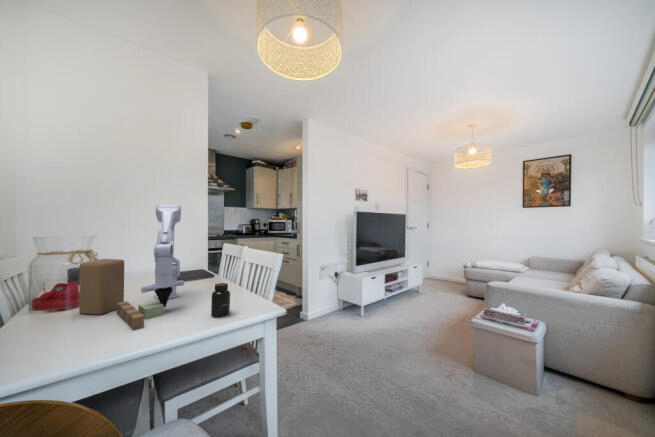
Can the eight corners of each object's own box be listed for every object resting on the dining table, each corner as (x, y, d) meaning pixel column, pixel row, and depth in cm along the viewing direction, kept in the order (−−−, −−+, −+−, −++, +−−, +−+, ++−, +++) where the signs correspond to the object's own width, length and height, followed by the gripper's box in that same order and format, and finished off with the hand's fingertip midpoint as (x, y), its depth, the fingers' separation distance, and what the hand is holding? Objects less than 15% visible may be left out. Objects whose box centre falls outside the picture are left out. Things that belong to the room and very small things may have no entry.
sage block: (138, 314, 97) (138, 304, 97) (156, 309, 102) (156, 300, 102) (145, 319, 92) (145, 309, 92) (163, 315, 97) (163, 304, 97)
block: (124, 306, 104) (125, 259, 104) (101, 315, 95) (101, 263, 94) (103, 305, 105) (104, 258, 105) (77, 314, 96) (78, 262, 95)
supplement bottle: (225, 318, 95) (225, 287, 95) (207, 317, 95) (208, 286, 95) (232, 311, 102) (233, 282, 102) (216, 310, 102) (216, 281, 102)
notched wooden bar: (116, 313, 97) (117, 302, 97) (126, 310, 100) (126, 301, 100) (133, 330, 84) (133, 318, 84) (143, 327, 86) (144, 315, 86)
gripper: (145, 278, 92) (144, 314, 92) (187, 271, 103) (186, 304, 103) (139, 274, 96) (139, 309, 96) (180, 269, 108) (179, 300, 108)
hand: (163, 306), depth 100 cm, fingers closed
